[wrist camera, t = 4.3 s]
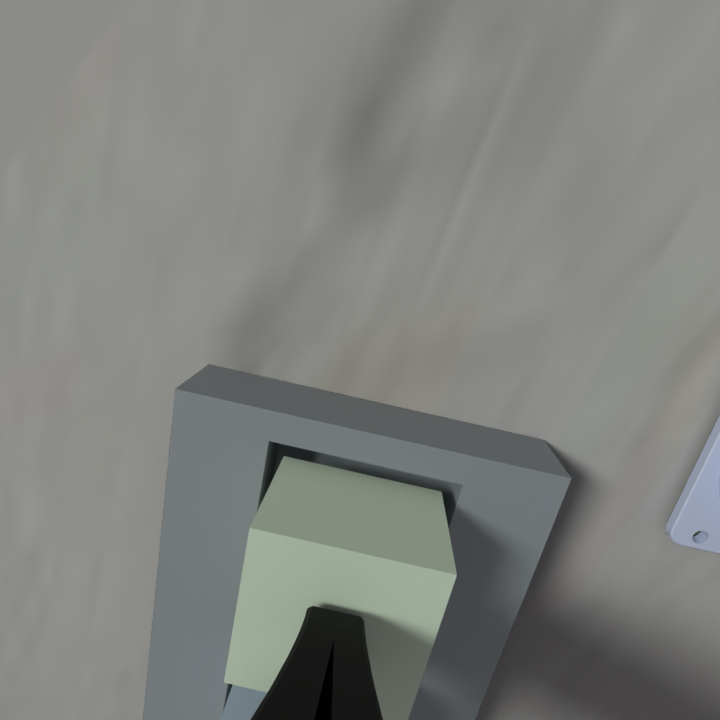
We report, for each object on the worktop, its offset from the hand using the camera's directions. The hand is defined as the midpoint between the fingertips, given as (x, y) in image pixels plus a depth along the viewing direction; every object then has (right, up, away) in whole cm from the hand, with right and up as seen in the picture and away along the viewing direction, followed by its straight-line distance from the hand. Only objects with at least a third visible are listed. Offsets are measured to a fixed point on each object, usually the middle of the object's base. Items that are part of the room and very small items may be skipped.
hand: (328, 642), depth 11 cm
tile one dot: (0, +1, +4) cm, 4 cm away
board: (-1, -5, +8) cm, 9 cm away
